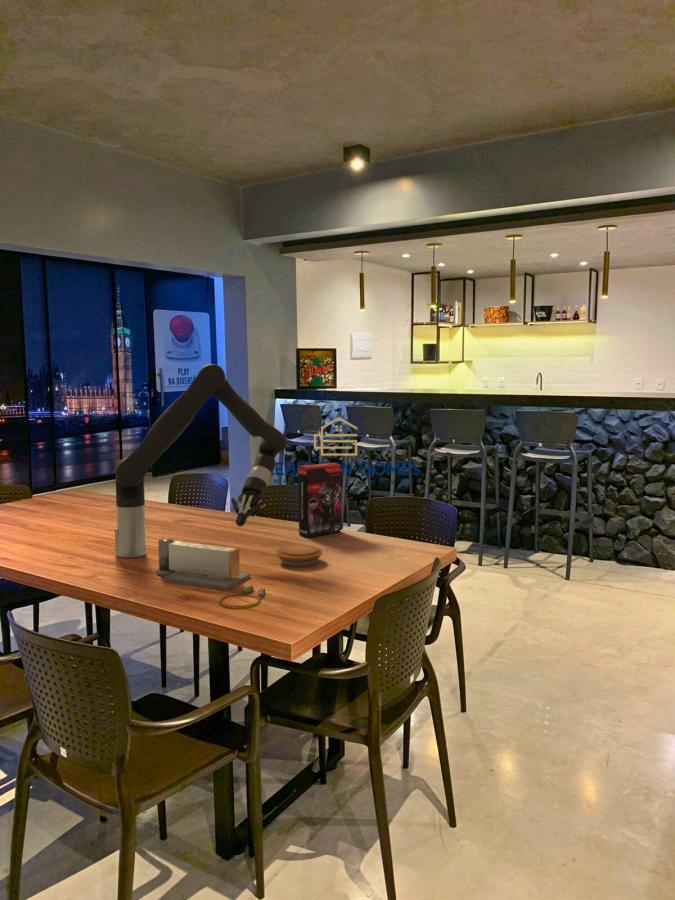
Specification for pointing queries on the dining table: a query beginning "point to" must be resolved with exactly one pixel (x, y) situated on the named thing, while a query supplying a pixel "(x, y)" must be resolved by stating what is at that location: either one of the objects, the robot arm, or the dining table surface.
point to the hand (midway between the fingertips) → (239, 525)
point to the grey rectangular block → (199, 558)
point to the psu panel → (202, 579)
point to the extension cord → (246, 590)
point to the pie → (299, 555)
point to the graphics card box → (319, 499)
